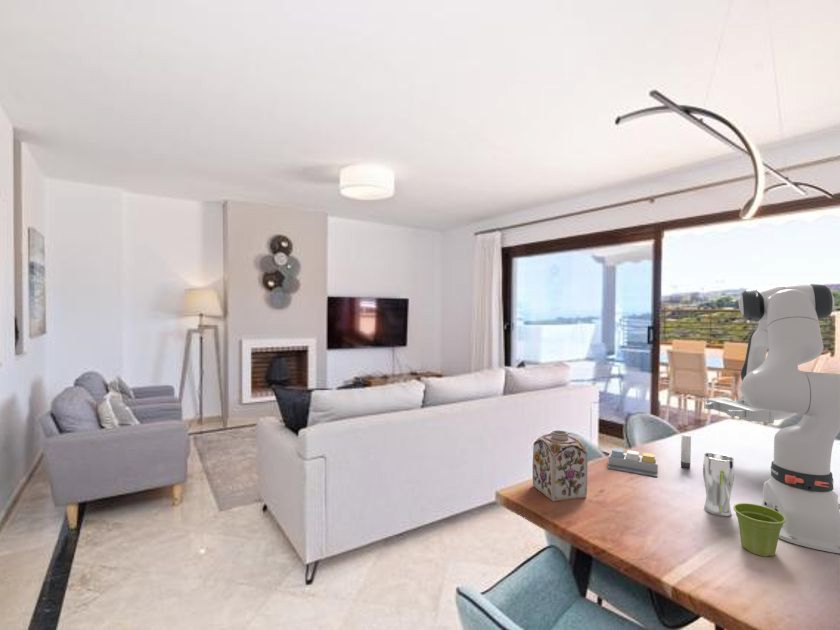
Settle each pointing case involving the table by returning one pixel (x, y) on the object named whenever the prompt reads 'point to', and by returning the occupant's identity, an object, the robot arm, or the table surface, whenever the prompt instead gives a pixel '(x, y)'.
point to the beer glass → (718, 483)
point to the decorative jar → (560, 466)
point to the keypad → (633, 465)
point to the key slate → (618, 453)
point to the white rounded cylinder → (685, 451)
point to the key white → (633, 455)
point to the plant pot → (759, 528)
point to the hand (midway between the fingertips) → (717, 409)
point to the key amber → (648, 458)
